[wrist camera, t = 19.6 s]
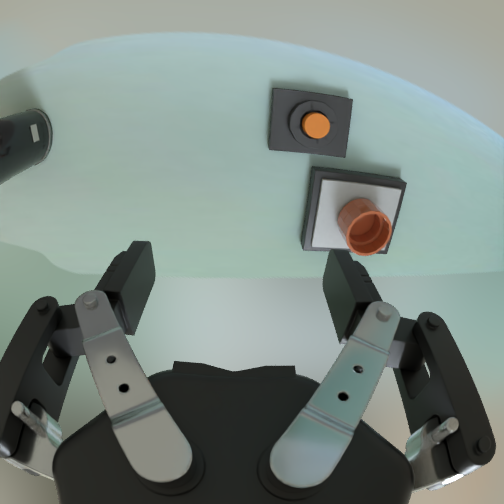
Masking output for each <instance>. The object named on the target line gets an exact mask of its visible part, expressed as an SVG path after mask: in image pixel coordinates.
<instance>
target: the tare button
mask: <svg viewBox="0 0 504 504" xmlns="http://www.w3.org/2000/svg"><path fill="white" fill-rule="evenodd" d="M302 128H303V130H304V132H305V133H306V134H308V135H309V136H311V137H313V138H322V137H324V136H326V135H327V134H328V132H329V129H330V123H329V120H328V119H327V118H326V117H325V116H324V115H322V114H319V113H316V112H312V113H309V114H307V115H306V116H305V117H304V118H303V120H302Z"/></svg>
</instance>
